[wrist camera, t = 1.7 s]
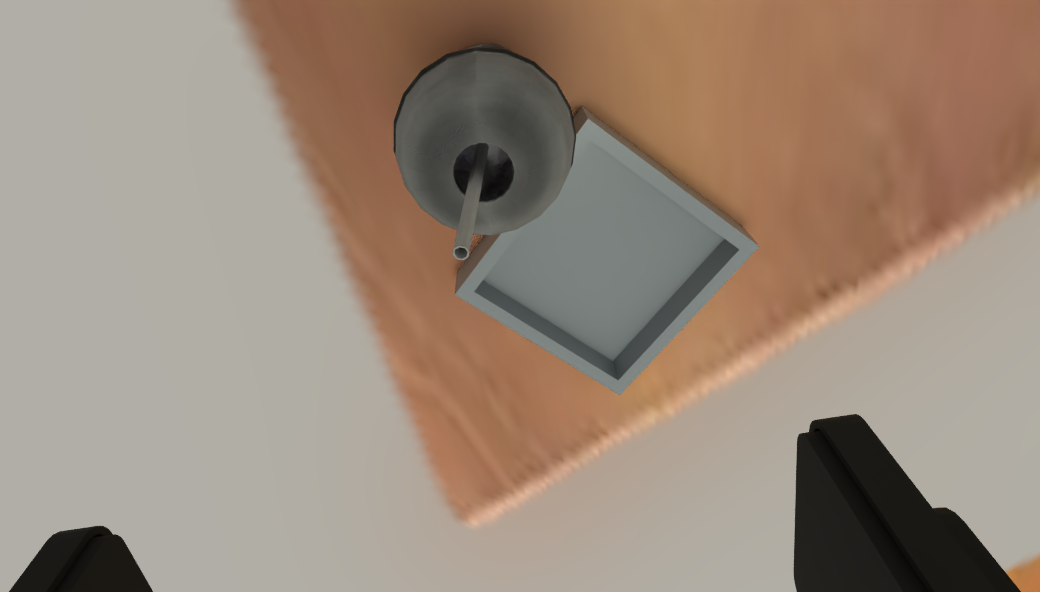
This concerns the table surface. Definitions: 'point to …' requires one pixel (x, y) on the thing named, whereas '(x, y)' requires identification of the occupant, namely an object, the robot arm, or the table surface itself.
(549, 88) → the beverage cup
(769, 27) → the table surface
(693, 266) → the tray
